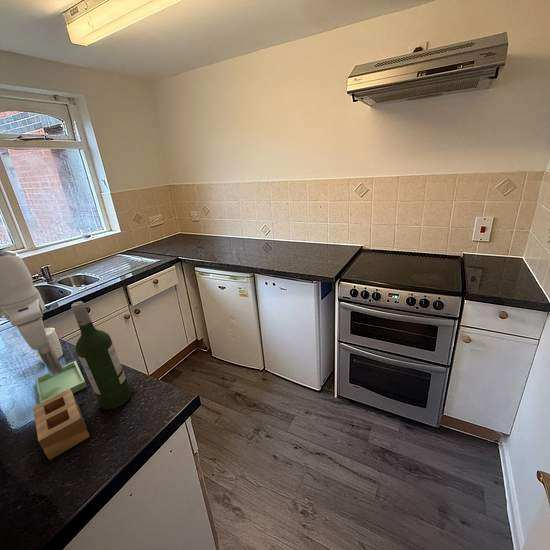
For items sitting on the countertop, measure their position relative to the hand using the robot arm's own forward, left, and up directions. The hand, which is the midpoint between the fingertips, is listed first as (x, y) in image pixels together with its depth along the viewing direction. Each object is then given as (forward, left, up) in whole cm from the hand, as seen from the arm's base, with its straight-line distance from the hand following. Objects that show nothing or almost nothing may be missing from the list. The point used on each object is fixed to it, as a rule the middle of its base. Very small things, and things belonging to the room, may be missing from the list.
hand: (44, 349), depth 87 cm
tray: (0, 0, -13) cm, 13 cm away
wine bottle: (+23, -3, -14) cm, 27 cm away
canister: (0, 0, -9) cm, 9 cm away
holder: (+17, -14, -13) cm, 26 cm away
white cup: (-18, +12, -14) cm, 26 cm away
